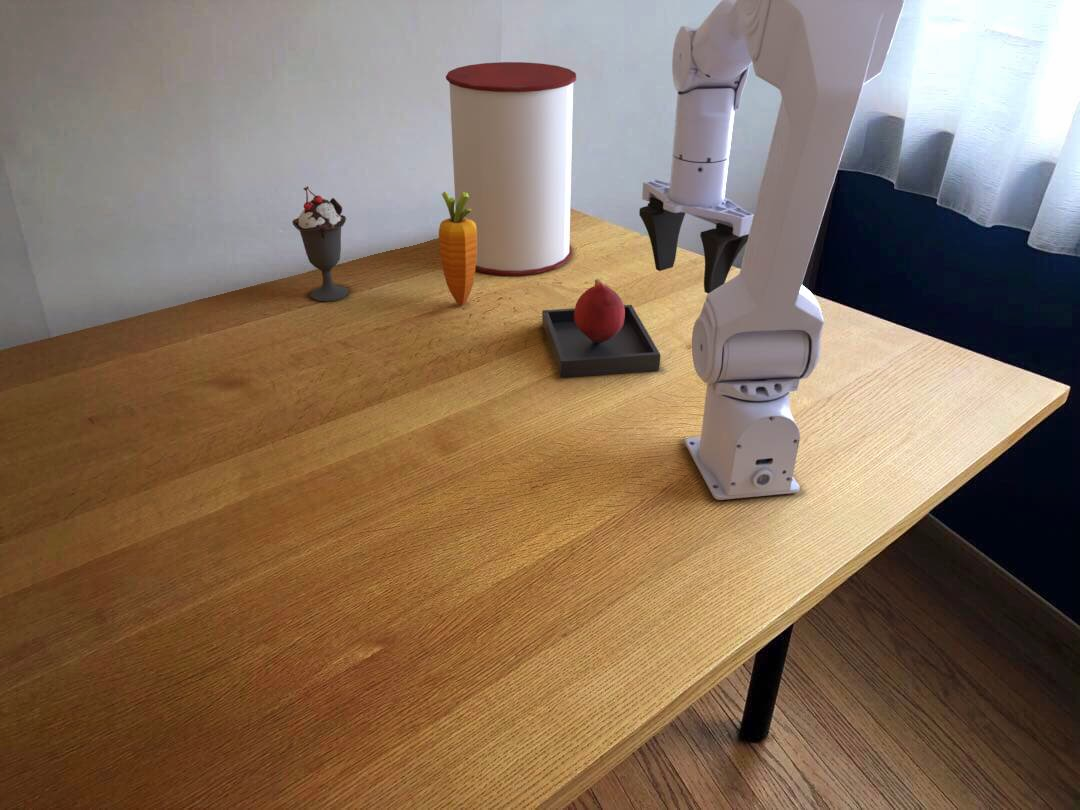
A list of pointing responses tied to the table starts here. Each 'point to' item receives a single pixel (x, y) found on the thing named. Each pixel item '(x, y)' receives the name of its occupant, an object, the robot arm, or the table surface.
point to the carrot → (458, 248)
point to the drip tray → (599, 346)
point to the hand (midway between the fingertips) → (688, 279)
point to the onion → (599, 313)
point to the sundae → (322, 242)
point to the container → (514, 162)
